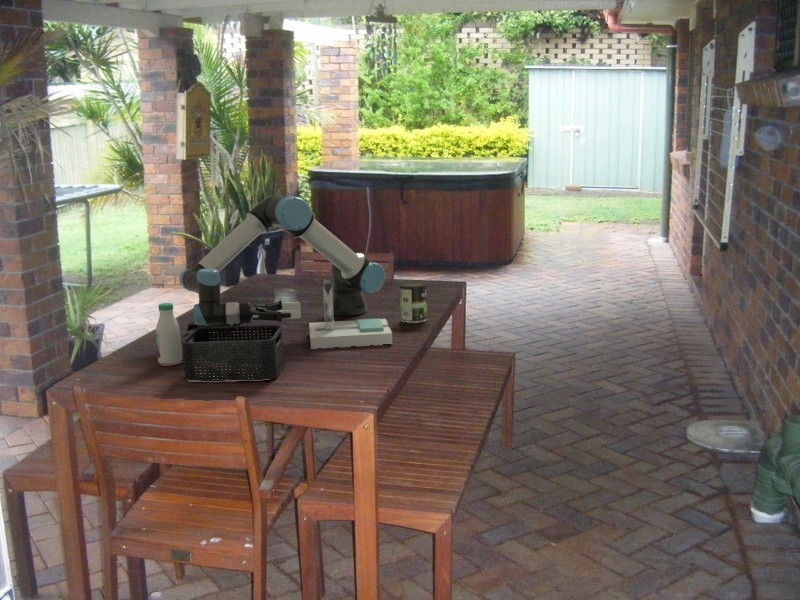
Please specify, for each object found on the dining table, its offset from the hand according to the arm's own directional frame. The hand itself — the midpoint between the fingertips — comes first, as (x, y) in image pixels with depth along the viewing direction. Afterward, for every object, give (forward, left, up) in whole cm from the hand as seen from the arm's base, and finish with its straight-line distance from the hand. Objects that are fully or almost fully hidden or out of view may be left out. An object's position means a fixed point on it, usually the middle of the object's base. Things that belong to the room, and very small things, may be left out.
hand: (300, 309), depth 320 cm
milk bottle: (+19, -43, -12) cm, 49 cm away
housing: (0, +17, -11) cm, 20 cm away
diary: (-30, -30, -12) cm, 44 cm away
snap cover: (0, +24, -7) cm, 25 cm away
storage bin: (+35, -21, -12) cm, 43 cm away
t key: (0, +10, -10) cm, 14 cm away
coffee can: (-23, +43, -12) cm, 50 cm away
